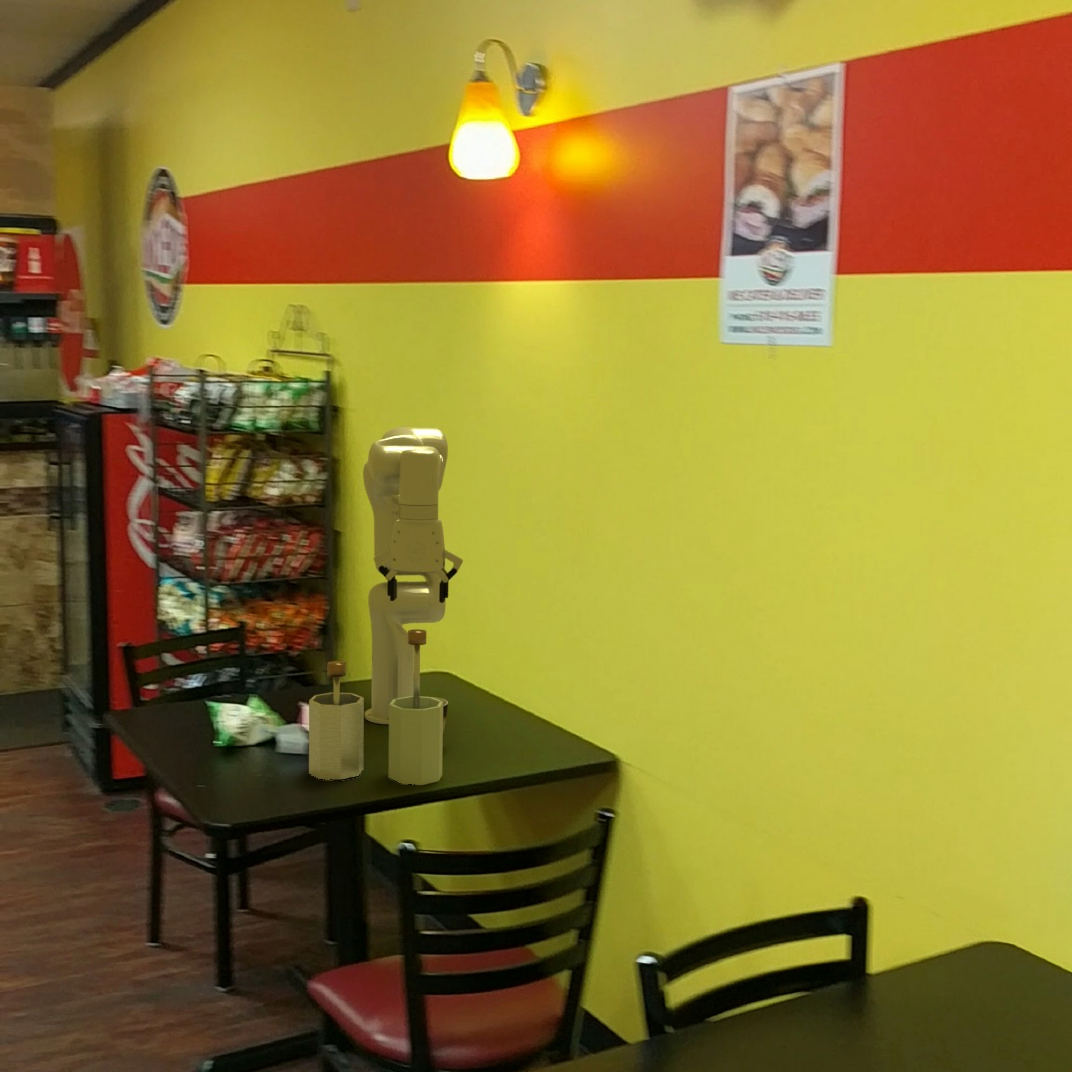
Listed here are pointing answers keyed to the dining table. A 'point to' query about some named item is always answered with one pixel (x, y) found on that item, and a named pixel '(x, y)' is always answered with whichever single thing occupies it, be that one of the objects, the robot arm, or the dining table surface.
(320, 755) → the beige tall hollow piece
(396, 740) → the cup
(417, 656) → the sage plunger
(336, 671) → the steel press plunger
